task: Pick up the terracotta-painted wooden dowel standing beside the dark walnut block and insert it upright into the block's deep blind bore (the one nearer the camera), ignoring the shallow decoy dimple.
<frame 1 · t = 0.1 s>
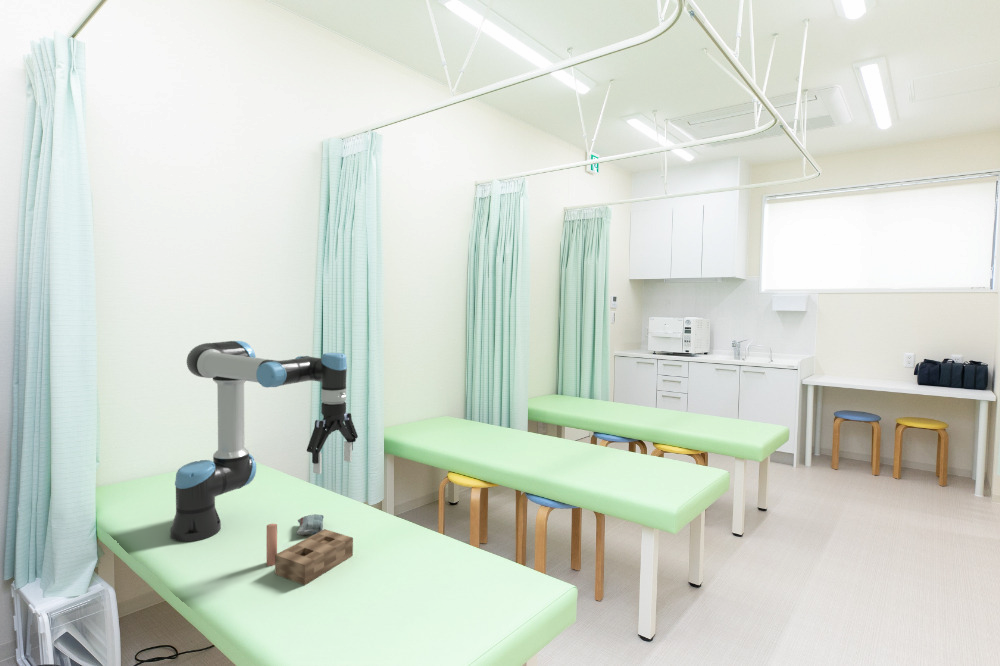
hand: (333, 467, 174), 28 cm above the table, fingers open, 13 cm apart
dowel: (271, 563, 167), on the table
bore block: (315, 564, 167), on the table
packaged food: (309, 531, 190), on the table
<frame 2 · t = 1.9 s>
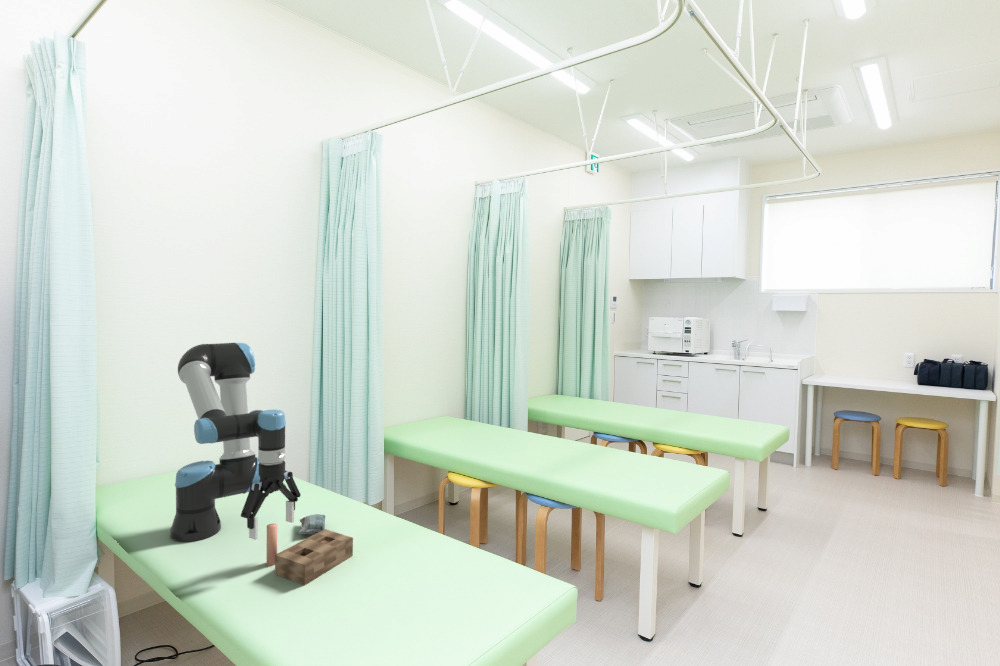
hand: (272, 529, 166), 11 cm above the table, fingers open, 13 cm apart
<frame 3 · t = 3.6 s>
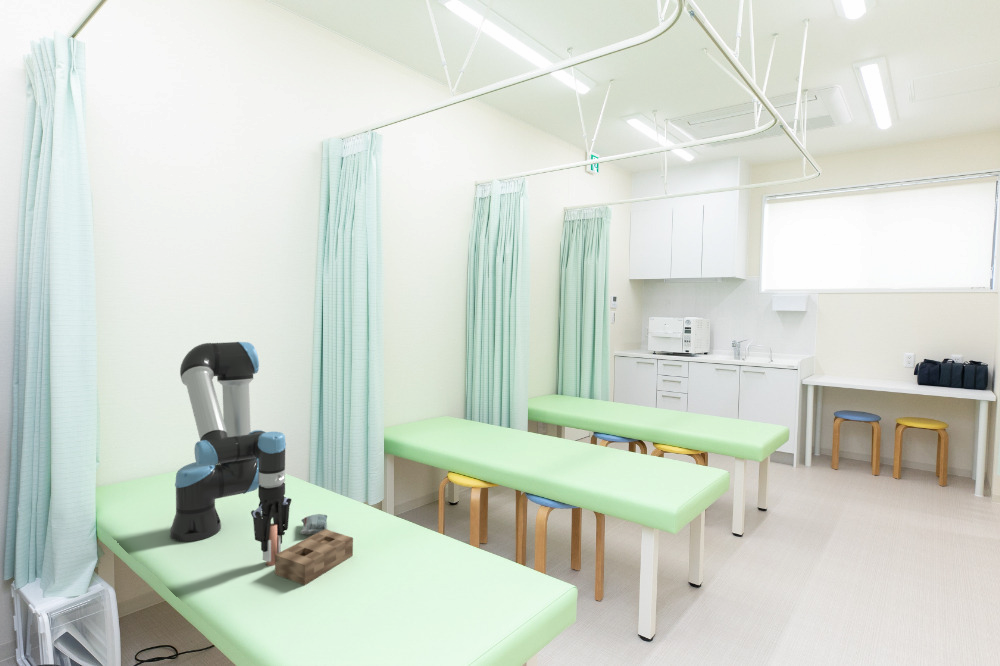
hand: (271, 557, 167), 2 cm above the table, fingers closed on dowel, 3 cm apart
dowel: (271, 563, 167), on the table, touching gripper
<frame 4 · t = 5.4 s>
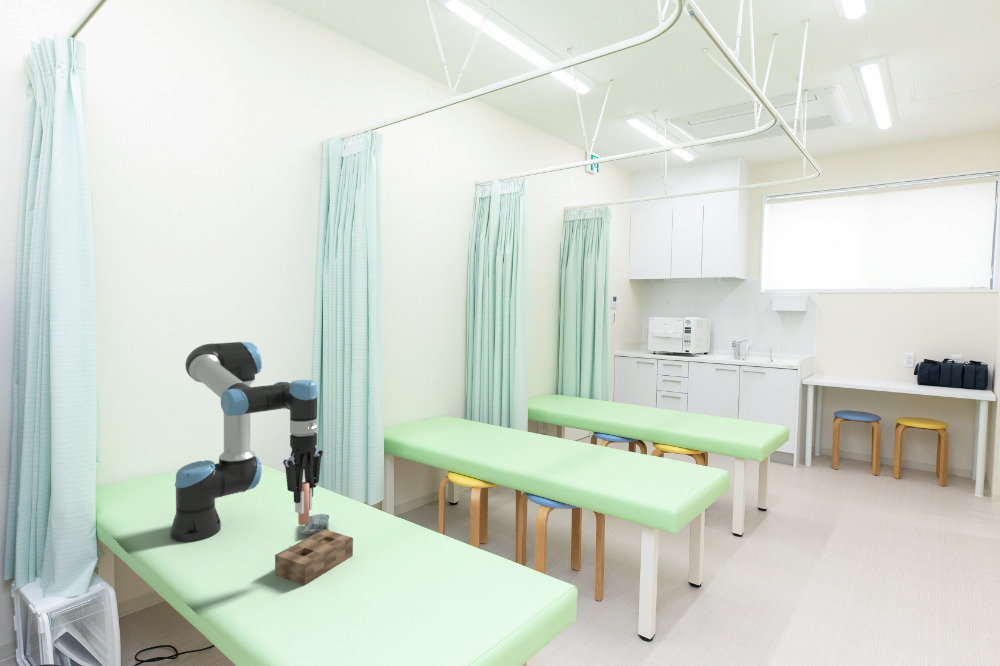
hand: (303, 510, 162), 19 cm above the table, fingers closed on dowel, 2 cm apart
dowel: (303, 522, 162), point 15 cm above the table, touching gripper
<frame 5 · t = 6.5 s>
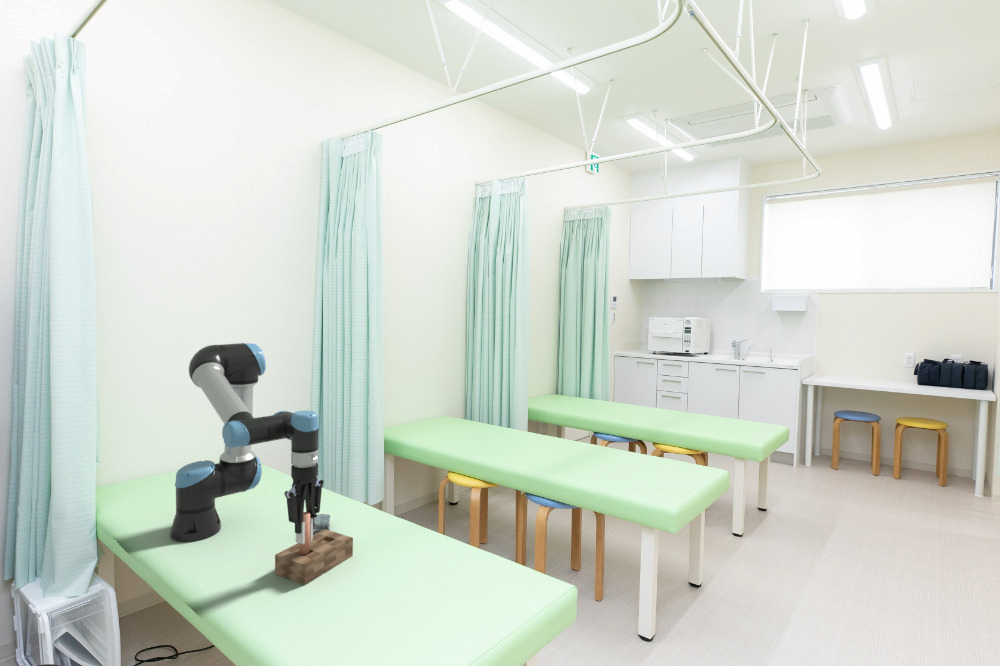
hand: (304, 540, 162), 10 cm above the table, fingers closed on dowel, 2 cm apart
dowel: (304, 552, 163), point 6 cm above the table, touching gripper
when the fingers open (7 cm above the table, at t = 7.3 s): dowel stays where it is, resting on bore block.
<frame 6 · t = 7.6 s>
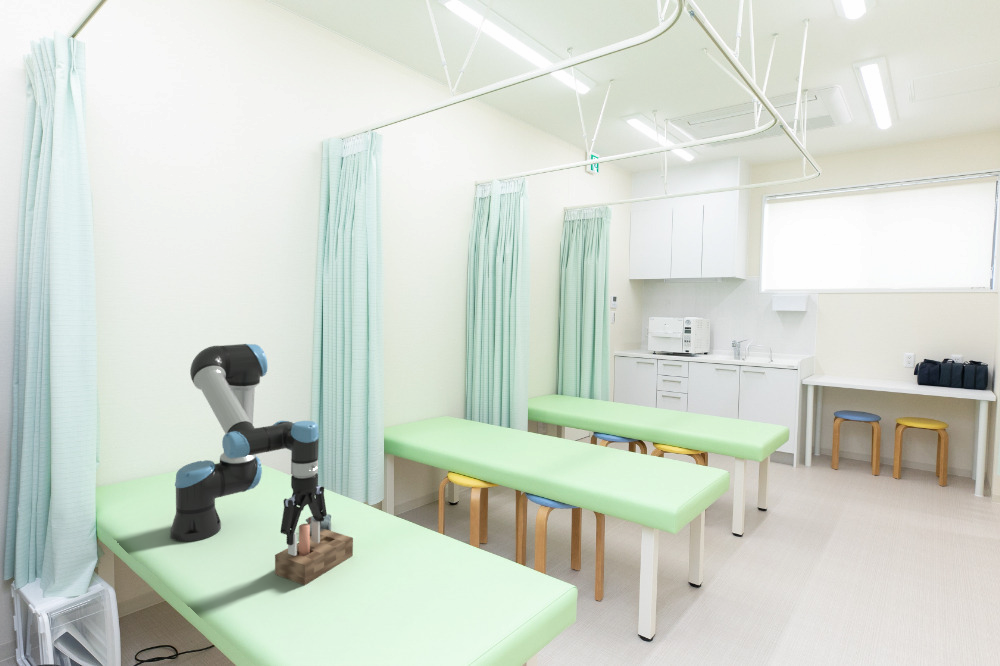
hand: (304, 547, 163), 7 cm above the table, fingers open, 8 cm apart
dowel: (304, 564, 163), point 2 cm above the table, touching bore block
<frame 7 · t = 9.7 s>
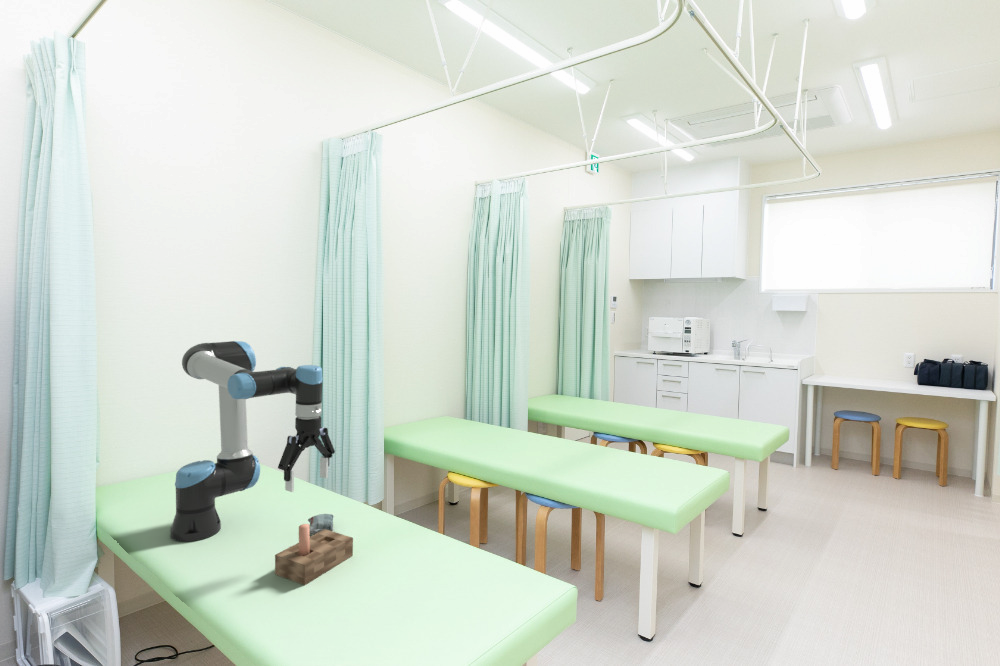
hand: (307, 483, 167), 25 cm above the table, fingers open, 13 cm apart
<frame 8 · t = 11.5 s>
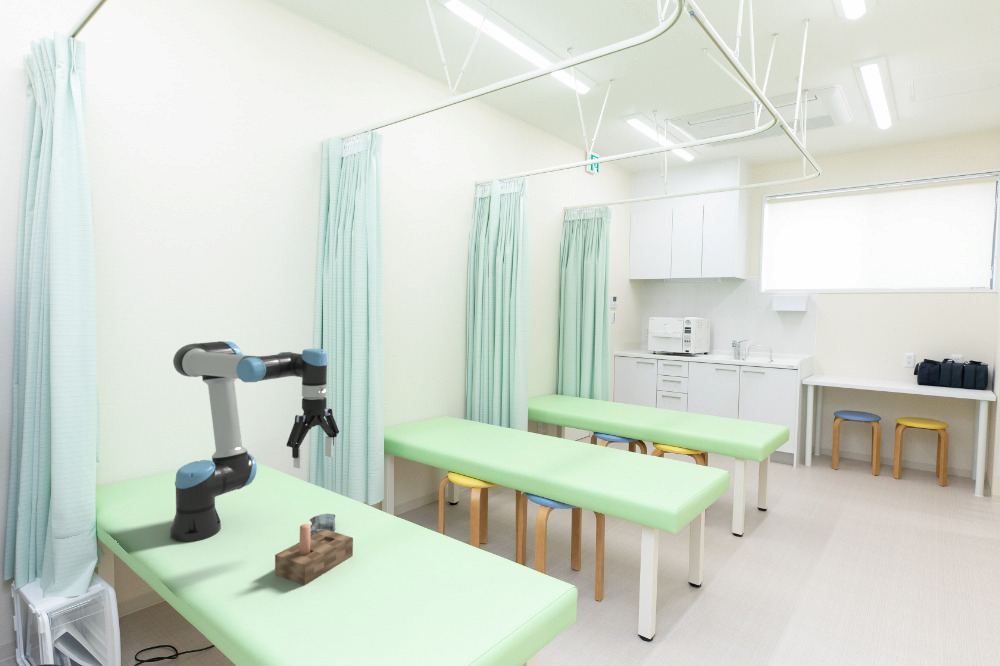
hand: (313, 461, 176), 29 cm above the table, fingers open, 13 cm apart
at the end: dowel 0.0 cm from the target spot on the bore block, point 2.0 cm above the bore block's base; dowel tilted 1°; the gripper is holding nothing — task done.
